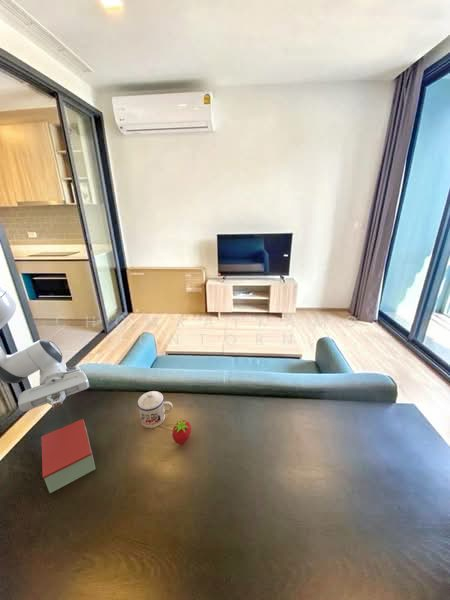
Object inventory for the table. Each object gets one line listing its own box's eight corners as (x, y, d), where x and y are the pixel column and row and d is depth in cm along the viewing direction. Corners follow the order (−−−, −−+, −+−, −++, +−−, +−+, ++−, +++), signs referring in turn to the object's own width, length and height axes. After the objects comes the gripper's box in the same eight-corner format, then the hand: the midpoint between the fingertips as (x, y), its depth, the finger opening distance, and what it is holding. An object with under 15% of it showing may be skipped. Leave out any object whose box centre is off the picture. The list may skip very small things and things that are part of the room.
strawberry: (194, 434, 86) (192, 412, 82) (188, 454, 79) (186, 431, 75) (177, 432, 87) (175, 410, 83) (170, 452, 80) (168, 429, 76)
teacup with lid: (138, 430, 88) (133, 404, 84) (143, 410, 96) (139, 386, 92) (172, 427, 89) (169, 401, 85) (174, 408, 97) (172, 383, 93)
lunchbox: (95, 469, 75) (91, 452, 72) (49, 493, 69) (43, 476, 66) (87, 435, 86) (83, 420, 84) (47, 453, 80) (41, 438, 77)
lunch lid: (91, 454, 72) (91, 453, 72) (43, 479, 66) (42, 477, 65) (83, 420, 84) (83, 418, 83) (41, 438, 77) (41, 436, 77)
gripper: (16, 385, 85) (13, 411, 74) (83, 364, 96) (89, 384, 85) (21, 400, 87) (19, 427, 76) (86, 378, 98) (93, 398, 87)
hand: (57, 404), depth 81 cm, fingers closed
